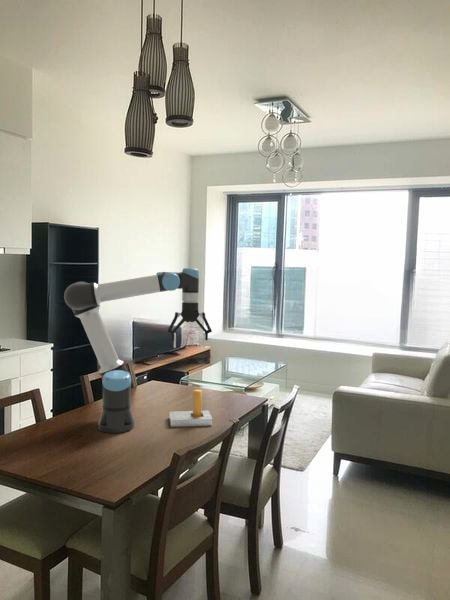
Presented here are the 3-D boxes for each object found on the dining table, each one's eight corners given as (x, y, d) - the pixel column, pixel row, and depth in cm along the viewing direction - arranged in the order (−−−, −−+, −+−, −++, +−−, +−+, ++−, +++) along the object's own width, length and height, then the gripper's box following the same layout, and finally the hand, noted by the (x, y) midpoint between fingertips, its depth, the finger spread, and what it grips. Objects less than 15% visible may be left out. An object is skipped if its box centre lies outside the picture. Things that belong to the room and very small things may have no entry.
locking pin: (192, 423, 212) (193, 392, 211) (192, 420, 215) (192, 389, 215) (201, 422, 212) (202, 391, 211) (200, 419, 216) (201, 389, 215)
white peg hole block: (170, 426, 206) (170, 419, 206) (169, 417, 218) (169, 411, 218) (212, 425, 209) (212, 418, 209) (208, 416, 221) (208, 410, 221)
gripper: (163, 302, 214) (162, 349, 215) (218, 302, 218) (217, 348, 219) (162, 300, 221) (162, 346, 223) (215, 301, 225) (214, 346, 227)
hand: (189, 347), depth 221 cm, fingers open, 13 cm apart
